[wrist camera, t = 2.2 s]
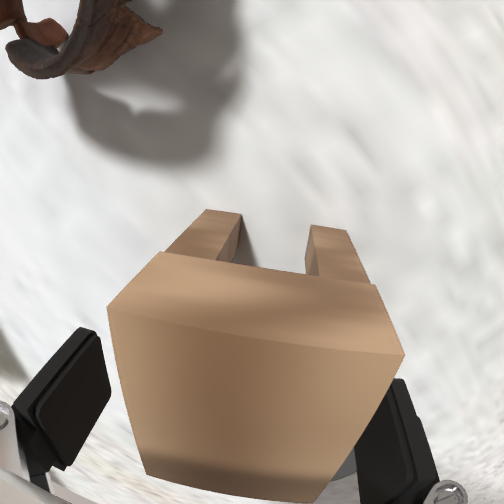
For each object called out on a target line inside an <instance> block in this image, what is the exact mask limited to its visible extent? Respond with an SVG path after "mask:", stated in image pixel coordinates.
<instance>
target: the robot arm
mask: <svg viewBox="0 0 504 504" xmlns="http://www.w3.org/2000/svg"><path fill="white" fill-rule="evenodd" d="M110 397H111V386H110V382H109V378H108V374H107V369H106V365H105V360H104V355H103V350H102V345H101V340H100V337H98V336H97V334H96V332H95V331H93V330H89V329H86V328H82V327H79V328H78V329H77V330H76V331H75V332H74V333H73V334H72V335H71V336H70V337H69V338H68V340H67V341H66V342H65V343H64V344H63V345H62V346H61V347H60V348H59V350H58V351H57V352H56V353H55V354H54V355H53V356H52V357H51V359H50V360H49V361H48V362H47V363H46V364H45V365H44V367H43V368H42V369H41V370H40V371H39V372H38V374H37V375H36V376H35V377H34V378H33V380H32V381H31V382H30V383H29V384H28V385H27V387H26V388H25V389H24V390H23V392H22V393H21V394H20V395H19V396H18V398H17V399H16V400H15V401H14V404H13V405H12V406H10V405H8V404H7V403H6V402H2V401H0V504H72V503H70V502H67V501H65V500H63V499H61V498H59V497H57V496H55V492H54V489H53V485H52V482H51V478H50V474H49V470H50V468H51V467H52V466H54V467H56V468H58V469H60V470H62V471H65V469H66V467H67V466H71V465H72V464H73V462H74V460H75V458H76V457H77V455H78V453H79V451H80V449H81V448H82V446H83V444H84V442H85V441H86V439H87V437H88V435H89V434H90V432H91V430H92V428H93V427H94V425H95V423H96V421H97V420H98V418H99V416H100V414H101V413H102V411H103V409H104V408H105V406H106V404H107V403H108V401H109V399H110ZM354 452H355V460H356V468H357V476H358V485H359V494H360V504H467V502H468V498H467V493H466V491H465V489H464V488H463V487H462V486H461V485H460V484H459V483H457V482H455V481H451V480H444V481H441V482H440V480H439V477H438V473H437V470H436V466H435V463H434V460H433V457H432V453H431V450H430V447H429V444H428V441H427V438H426V435H425V432H424V429H423V426H422V423H421V420H420V418H419V417H418V416H417V415H416V412H415V409H414V406H413V403H412V401H411V398H410V395H409V392H408V390H407V387H406V384H405V382H404V380H403V379H396V378H394V379H393V381H392V383H391V384H390V386H389V388H388V390H387V392H386V394H385V396H384V397H383V399H382V401H381V403H380V405H379V406H378V408H377V410H376V412H375V413H374V415H373V417H372V418H371V420H370V422H369V423H368V425H367V427H366V428H365V430H364V432H363V433H362V435H361V436H360V438H359V439H358V441H357V443H356V444H355V446H354Z"/></svg>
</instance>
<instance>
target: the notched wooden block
mask: <svg viewBox="0 0 504 504" xmlns="http://www.w3.org/2000/svg"><path fill="white" fill-rule="evenodd" d="M240 222H241V214H237V213H230V212H223V211H215V210H208V209H206V210H205V211H204V212H203V213H202V214H201V215H200V216H199V217H198V218H197V219H196V220H195V221H194V222H193V223H192V224H191V225H190V226H189V227H188V228H187V229H186V230H185V231H184V232H183V233H182V234H181V235H180V236H179V237H178V238H177V239H176V240H175V241H174V242H173V243H172V244H171V245H170V246H169V248H168V249H167V250H166V251H165V252H161V251H160V252H159V253H158V254H157V255H156V256H155V257H154V258H153V259H152V260H151V261H150V262H149V263H148V264H147V265H146V266H145V267H144V268H143V269H142V270H141V271H140V272H139V273H138V274H137V275H136V276H135V277H134V278H133V279H132V280H131V281H130V283H129V284H128V285H127V286H126V287H125V288H124V289H123V290H122V291H121V292H120V293H119V294H118V295H117V296H116V297H115V298H114V300H113V301H112V302H111V303H110V304H109V305H108V306H107V313H108V320H109V326H110V332H111V338H112V344H113V349H114V355H115V360H116V365H117V370H118V374H119V379H120V384H121V388H122V392H123V396H124V400H125V405H126V408H127V412H128V416H129V420H130V423H131V427H132V431H133V434H134V438H135V441H136V444H137V447H138V451H139V454H140V457H141V460H142V463H143V466H144V469H145V472H146V475H149V476H152V477H156V478H159V479H163V480H166V481H170V482H173V483H177V484H181V485H185V486H189V487H193V488H198V489H202V490H207V491H212V492H217V493H222V494H228V495H234V496H240V497H247V498H254V499H262V500H271V501H281V502H295V503H313V502H314V501H315V500H316V498H317V497H318V496H319V495H320V493H321V492H322V491H323V489H324V488H325V487H326V486H327V484H328V483H329V482H330V480H331V479H332V477H333V476H334V475H335V473H336V472H337V471H338V469H339V468H340V466H341V465H342V463H343V462H344V461H345V459H346V458H347V456H348V455H349V453H350V452H351V450H352V449H353V447H354V446H355V444H356V443H357V441H358V439H359V438H360V436H361V435H362V433H363V432H364V430H365V428H366V427H367V425H368V423H369V422H370V420H371V418H372V417H373V415H374V413H375V412H376V410H377V408H378V406H379V405H380V403H381V401H382V399H383V397H384V396H385V394H386V392H387V390H388V388H389V386H390V384H391V383H392V381H393V379H394V377H395V375H396V373H397V371H398V369H399V367H400V365H401V363H402V361H403V359H404V357H405V353H404V351H403V348H402V346H401V343H400V341H399V338H398V336H397V334H396V331H395V329H394V326H393V324H392V322H391V319H390V317H389V315H388V312H387V310H386V308H385V305H384V303H383V301H382V299H381V296H380V294H379V292H378V290H377V288H376V285H374V284H371V283H370V281H369V279H368V276H367V274H366V272H365V270H364V267H363V265H362V263H361V261H360V259H359V257H358V254H357V252H356V250H355V248H354V246H353V244H352V242H351V240H350V238H349V235H348V233H347V231H346V230H341V229H335V228H329V227H323V226H316V225H311V228H310V233H309V238H308V244H307V249H306V254H305V267H306V274H299V273H292V272H286V271H279V270H273V269H266V268H260V267H254V266H247V265H241V264H235V263H231V262H232V259H233V257H234V255H235V253H236V250H237V248H238V241H239V231H240Z"/></svg>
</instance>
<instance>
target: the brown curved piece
mask: <svg viewBox="0 0 504 504" xmlns="http://www.w3.org/2000/svg"><path fill="white" fill-rule="evenodd" d="M129 1H131V0H80V4H79V9H78V13H77V19H76V22H75V25H74V27H73V31H72V33H71V35H70V37H69V39H68V41H67V43H66V44H65V46H64V48H63V49H62V50H61V52H60V53H59V51H58V50H57V48H58V47H59V46H60V44H61V43H62V42H63V41H64V40H65V39H66V37H67V33H66V31H65V29H64V28H63V27H62V26H61V25H60V24H58V23H57V22H56V21H55V20H53V19H51V18H47V19H44V20H42V21H41V22H38V23H31V22H27V18H26V16H25V13H24V9H23V3H22V0H0V30H2V29H5V28H7V27H8V26H14V28H15V30H16V33H17V35H18V36H19V38H20V39H19V40H14V41H11V42H9V43H8V44H7V45H6V47H5V49H6V51H7V53H8V57H9V60H10V61H11V63H12V64H13V65H15V67H16V68H17V69H18V70H20V71H22V72H23V73H24V74H26V75H28V76H30V77H32V78H36V79H49V78H55V77H58V76H61V75H63V74H65V73H66V72H69V73H74V74H92V73H94V72H95V70H97V71H99V70H104V69H106V68H107V67H109V66H110V65H111V64H112V63H113V62H114V61H115V60H117V59H118V58H119V57H120V56H121V55H123V54H125V53H126V52H128V51H129V50H131V49H133V48H135V47H136V46H138V45H141V44H144V43H147V42H148V41H150V40H152V39H154V38H156V37H157V36H159V35H161V34H162V33H163V31H162V29H161V28H159V27H155V26H151V25H150V24H148V23H146V22H145V21H144V20H143V19H142V18H141V17H139V16H138V15H136V14H135V13H134V12H133V11H131V10H130V9H129V8H128V7H127V6H125V3H126V2H129Z"/></svg>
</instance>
